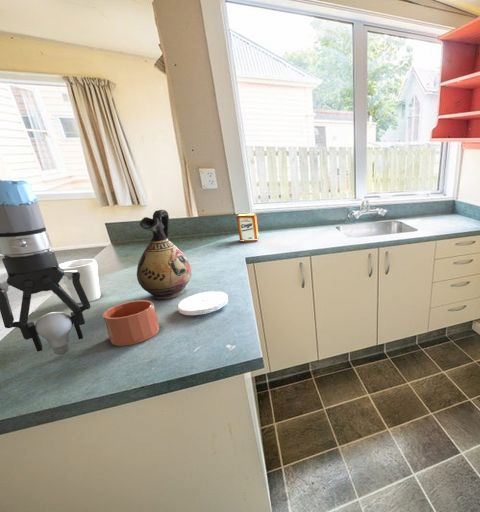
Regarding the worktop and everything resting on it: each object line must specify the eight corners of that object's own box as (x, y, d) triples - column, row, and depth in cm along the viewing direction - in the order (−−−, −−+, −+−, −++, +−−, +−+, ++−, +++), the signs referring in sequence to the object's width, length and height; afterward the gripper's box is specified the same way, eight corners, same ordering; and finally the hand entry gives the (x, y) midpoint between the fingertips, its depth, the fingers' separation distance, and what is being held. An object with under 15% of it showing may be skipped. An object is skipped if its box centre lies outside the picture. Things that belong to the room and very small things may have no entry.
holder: (100, 346, 77) (91, 318, 74) (131, 324, 86) (124, 300, 84) (141, 345, 77) (133, 318, 74) (167, 324, 87) (162, 300, 84)
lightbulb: (77, 343, 77) (66, 305, 73) (83, 352, 73) (72, 312, 70) (42, 354, 72) (29, 313, 69) (46, 364, 68) (33, 322, 65)
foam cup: (103, 301, 100) (92, 265, 96) (65, 308, 95) (51, 270, 91) (108, 291, 108) (97, 257, 104) (72, 297, 103) (60, 261, 99)
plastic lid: (235, 307, 98) (234, 300, 97) (187, 323, 88) (185, 315, 87) (219, 294, 107) (217, 288, 106) (173, 307, 97) (172, 300, 96)
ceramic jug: (183, 302, 100) (164, 215, 91) (132, 305, 98) (108, 215, 89) (203, 282, 116) (189, 206, 107) (160, 284, 114) (142, 207, 105)
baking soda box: (240, 242, 173) (236, 215, 168) (242, 239, 179) (238, 213, 174) (257, 241, 176) (254, 214, 171) (259, 238, 182) (255, 212, 177)
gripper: (-51, 266, 56) (-4, 368, 63) (89, 247, 69) (114, 333, 76) (-43, 257, 60) (0, 352, 68) (87, 241, 74) (111, 322, 81)
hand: (60, 342), depth 72 cm, fingers closed on lightbulb, 6 cm apart
